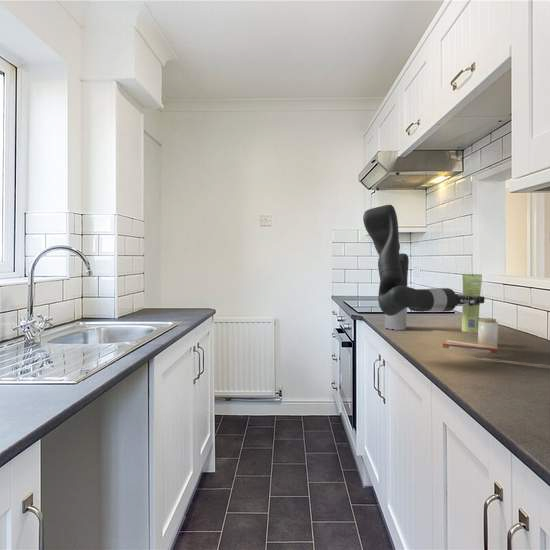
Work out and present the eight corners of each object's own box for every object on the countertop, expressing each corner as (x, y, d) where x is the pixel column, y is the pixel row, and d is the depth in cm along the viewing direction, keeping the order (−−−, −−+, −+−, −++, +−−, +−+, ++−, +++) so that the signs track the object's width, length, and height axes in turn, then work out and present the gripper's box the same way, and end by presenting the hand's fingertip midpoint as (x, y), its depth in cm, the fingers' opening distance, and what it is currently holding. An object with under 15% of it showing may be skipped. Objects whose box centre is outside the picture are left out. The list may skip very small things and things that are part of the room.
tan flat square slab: (447, 342, 142) (447, 336, 142) (497, 347, 134) (497, 341, 134) (442, 351, 129) (442, 343, 129) (497, 357, 121) (497, 349, 121)
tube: (463, 329, 132) (465, 273, 132) (479, 331, 130) (482, 273, 129) (460, 332, 128) (462, 273, 127) (477, 333, 125) (479, 274, 124)
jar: (478, 342, 138) (478, 317, 137) (497, 343, 135) (498, 318, 134) (477, 345, 132) (478, 319, 132) (497, 347, 129) (498, 320, 129)
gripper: (455, 290, 117) (496, 289, 122) (422, 286, 130) (461, 286, 136) (454, 314, 117) (495, 312, 123) (421, 308, 130) (460, 307, 136)
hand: (477, 299), depth 129 cm, fingers closed on tube, 4 cm apart
